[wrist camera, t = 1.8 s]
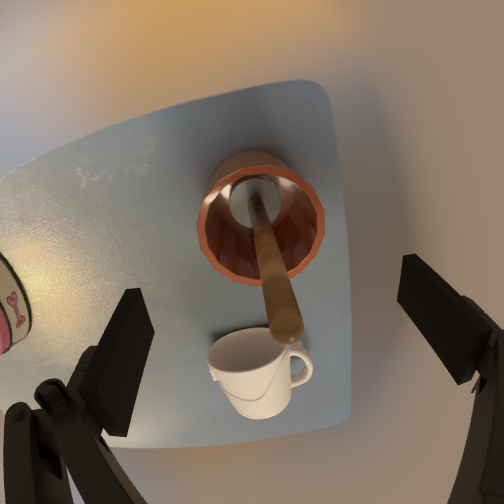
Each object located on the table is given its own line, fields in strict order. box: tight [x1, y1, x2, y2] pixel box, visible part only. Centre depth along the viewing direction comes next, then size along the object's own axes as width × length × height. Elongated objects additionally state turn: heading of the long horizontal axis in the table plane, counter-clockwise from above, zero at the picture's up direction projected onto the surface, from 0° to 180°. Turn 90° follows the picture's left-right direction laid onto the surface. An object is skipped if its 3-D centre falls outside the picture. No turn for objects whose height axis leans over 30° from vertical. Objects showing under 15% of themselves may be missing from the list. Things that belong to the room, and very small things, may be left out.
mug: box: [206, 327, 313, 419], centre depth 37 cm, size 12×9×8 cm
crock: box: [197, 150, 325, 286], centre depth 27 cm, size 9×9×10 cm
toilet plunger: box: [229, 174, 304, 345], centre depth 21 cm, size 5×5×21 cm
